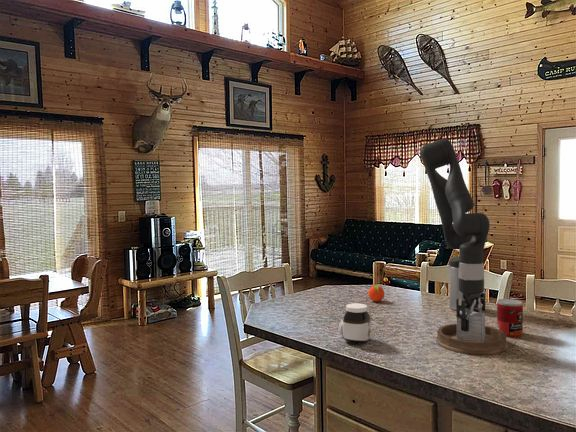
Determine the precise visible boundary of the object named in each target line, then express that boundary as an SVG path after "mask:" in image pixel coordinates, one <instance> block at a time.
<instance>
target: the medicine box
mask: <svg viewBox="0 0 576 432" xmlns="http://www.w3.org/2000/svg"><path fill="white" fill-rule="evenodd" d="M460 313H461V311H460ZM466 314H467V313H466ZM468 320H469V331H467V332H466V331H462V330H461V319H460V318H457V317H456V324H457V339H459V340H464V341H472V342H484V340H485V326H486V313H485V312H483V313H480V312H474V311H472V313H471V314H470V316H469V319H468Z"/></svg>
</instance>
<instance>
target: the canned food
mask: <svg viewBox="0 0 576 432" xmlns="http://www.w3.org/2000/svg"><path fill="white" fill-rule="evenodd" d="M496 303H497V304H496V324H497V326H496V329H499V330H501V331H503V332H504V333H505V334H506V338H520V337H522V336H523V334H524V333H523V332H524V330H523V329H524V328H523V325H524V321H523V320H524V318H523V317H524V312H523V311H524V304H523V301H521V300H518V299H513V298H500V299H497V300H496Z"/></svg>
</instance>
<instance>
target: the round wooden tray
mask: <svg viewBox="0 0 576 432" xmlns="http://www.w3.org/2000/svg"><path fill="white" fill-rule="evenodd" d="M436 332H437V336H436V343H437V345H438V346H440V347H441V348H443V349H445V350H448V351H451V352H453V353H454V352H455V353H458V354H459V353H460V354H465V355H472V356H473V355H474V356H490V355H491V356H493V355H498V354H502V353H504V352H506V351H507V350H508V349H509V343H508V341H507V337H506V334H505V333H504V332H503V331H501V330H499V329H497V327H492V326H489V325H485V340H484V342H472V341H464V340H459V339H457V323H451V324H445V325H442V326H440V327H438V329H437V331H436Z"/></svg>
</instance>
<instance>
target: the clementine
mask: <svg viewBox="0 0 576 432" xmlns="http://www.w3.org/2000/svg"><path fill="white" fill-rule="evenodd" d="M367 293H368V297H369V299H370V300H371V301H372V302H376V303H377V302H380V301H382V300H383V299H384V298H385V290H384V289H383V287H381V286H380V285H376V284H375V285H372V286H371V287H370V288H369V290H368V292H367Z"/></svg>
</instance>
